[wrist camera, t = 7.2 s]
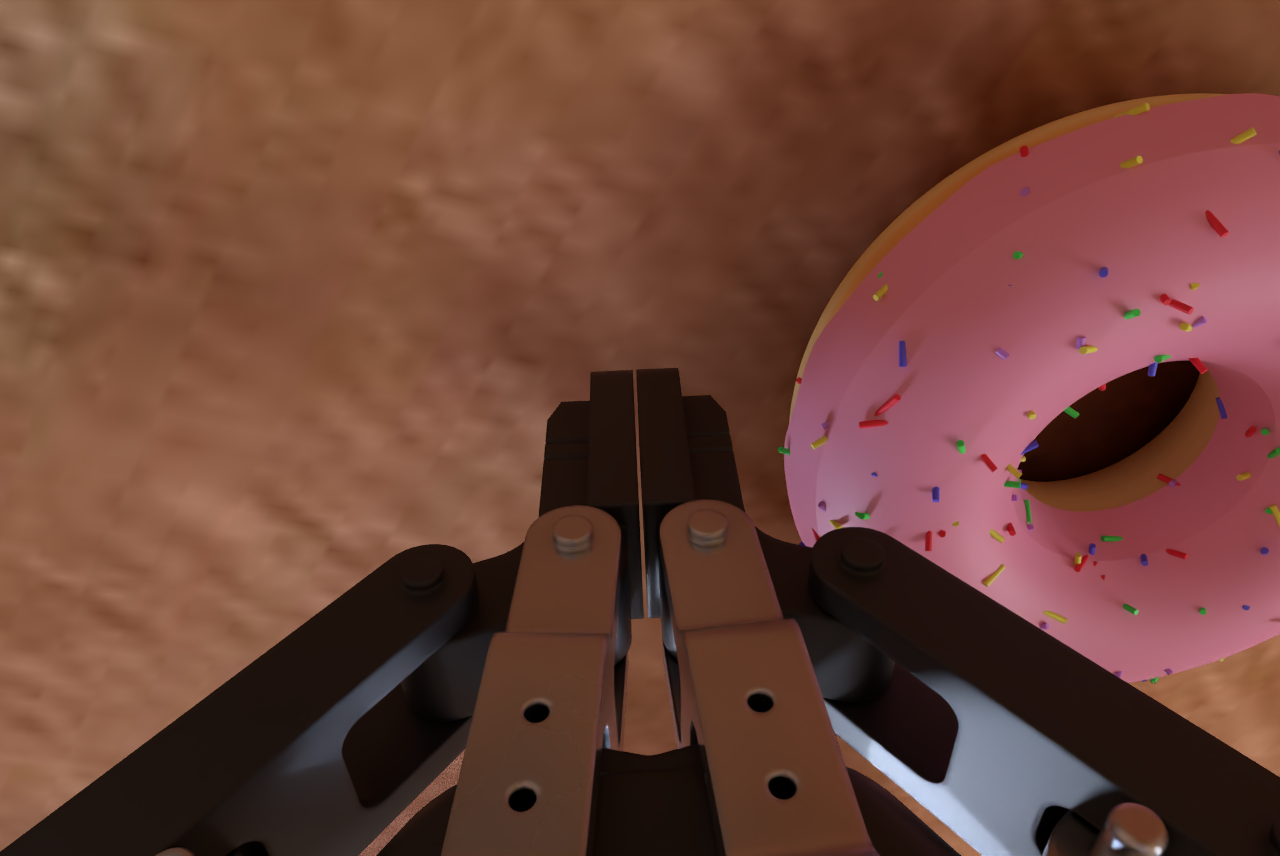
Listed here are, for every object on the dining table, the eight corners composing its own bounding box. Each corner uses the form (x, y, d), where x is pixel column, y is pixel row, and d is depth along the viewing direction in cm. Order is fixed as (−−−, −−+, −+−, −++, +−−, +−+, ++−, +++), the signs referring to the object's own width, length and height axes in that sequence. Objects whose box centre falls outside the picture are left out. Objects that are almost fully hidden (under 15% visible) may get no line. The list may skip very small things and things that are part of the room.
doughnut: (949, -52, 13) (1078, 7, 9) (1534, 181, 15) (1811, 297, 11) (682, 517, 18) (700, 682, 15) (1131, 621, 21) (1235, 784, 17)
